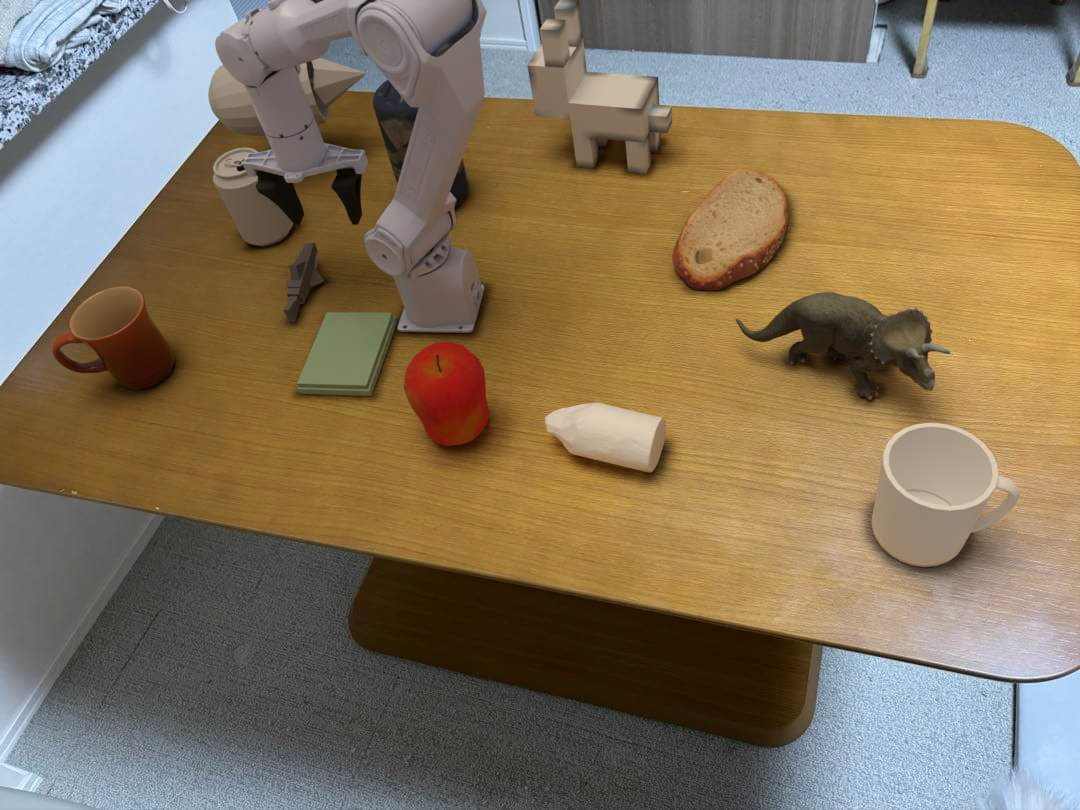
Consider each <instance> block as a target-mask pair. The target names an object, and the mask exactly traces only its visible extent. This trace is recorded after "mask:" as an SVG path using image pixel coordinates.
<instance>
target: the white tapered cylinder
mask: <svg viewBox="0 0 1080 810" xmlns="http://www.w3.org/2000/svg"><path fill="white" fill-rule="evenodd" d="M666 423H667V422H666V419H665V417H663V416H662V417H661V416H656V415H652V414H648V413H644V412H639V411H635V410H631V409H628V408H623V407H619V406H614V405H611V404H607V403H603V402H598V401H597V402H589V403H583V404H582V403H581V404H577V405H572V406H569V407H561V408H559V409H556V410H553V411H552V412H550V413H548V414H547V415H546V416H545V417H544V424H545V428H546V431H547V433H548V434H550V435H552V436H553V437H555V438H557V440H558V441H560V442H561V443H562V445H563V447H564V448H565V449H566V451H568V453H570V454H571V455H574V456H579V457H583V458H586V459H590V460H595V461H599V462H602V463H603V462H604V463H607V464H612V465H615V466H620V467H623V468H629V469H633V470H637V471H642V472H646V473H652V472H653V471H654V470H655V469H656V467H657V465H658V463H659V461H660V458H661V455H662V451H663V449H664V443H665V439H666V433H667V432H666V431H667V430H666V429H667V426H666Z"/></svg>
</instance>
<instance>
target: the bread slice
mask: <svg viewBox="0 0 1080 810" xmlns="http://www.w3.org/2000/svg"><path fill="white" fill-rule="evenodd" d="M785 194H786V193H785V192H784V191H783V188H782V187H781V185H780V183H779V182H778V181H776V179H774V178H773V177H772V176H771V175H769V174H766V173H765V172H763V171H761V170H757V169H754V168H750V167H741V168H735V169H734V171H732V172H730V173H729V174H728V175H727V176H724V177H723V178H722V180H720V182H719V183H718V184H716V185H715V187H713V189H712V190H711V191H709V193H708V194H707V196H705V197H704V198H703V200H702V201H701V202H700V203H699V204H698V206H697V207H696V208H695V209H694V211H693V212H692V213H691V214H690V216H689V217H688V219H687V220H686V222H685V224H684V225H683V228H682V229H681V231H680V233H679V236H678V238H677V239H676V242H675V245H674V247H673V251H672V258H671V260H672V264H673V266H674V268H675V270H676V273H678V275H679V276H680V278H682V279H683V280H684V281H685V283H686V284H687V285H688V286H689V287H690V288H691V289H693V290H704V291H720V290H723V289H725V288H726V287H727V286H729V285H731V284H733V283H734V282H736V281H737V282H738V281H739V280H741V279H745V278H748V277H750V276H752V275H754V274H755V273H758V271H760V270H762V269H763V268H764V267H765V266H766V265H767V264H768V263H769V262H770V260H771V259H772V258H773V257H774V256H775V254H776V253H777V251H778V250H779V248H780V247H781V246H782V244H783V243H784V238H785V235H786V232H787V228H788V223H789V211H788V209H789V208H788V201H787V198H786V195H785Z"/></svg>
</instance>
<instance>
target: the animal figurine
mask: <svg viewBox="0 0 1080 810" xmlns="http://www.w3.org/2000/svg"><path fill="white" fill-rule="evenodd" d="M319 250H320V249H318V248H317V244H316V242H305V243H304V244H303V247H302V250H301V251H299V253H298V257H297V258H295V260H294V262H293V263H291V264H289V265H288V270H289V273H290V276H289V279H288V282H287V284H286V285H287V286H286V288H287V292H286V295H287V296H288V302H287V303H286V305H285V307H284V308H283V309H282V310H283V312H284V314H285V316H286V318H287V320H288V321H289V323H296V321H297V318H298V314H299V312H300V306H301V304H305V301H306V299H307V298H308V297H309V294H310V291H311V289H313V288H315V287H317V286H319V285H321V284H323V283H325V280H324V278H323V276H322V275H321V274H320V273H319V271H318V269H317V266H318V262H319V259H318V256H319V253H320V251H319Z"/></svg>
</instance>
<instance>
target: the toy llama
mask: <svg viewBox="0 0 1080 810" xmlns="http://www.w3.org/2000/svg"><path fill="white" fill-rule="evenodd" d="M580 7H581V6H580V0H558V1H557V3H556V5H554V8H553V15H554V19H553V18H546V19H545V21H544V22H543V23H542V25H541V27H540V28H539V34H540V41H541V44H540V45H539V46H538V48H537V50H536V51H535V53H534V55H533V56H532V57H531V59H530V60H529V61H528V63H527V66H526V67H527V72H528V78H529V84H530V90H531V96H532V102H533V107H534V113H535V117H538V118H550V119H561V120H569V121H570V127H571V134H572V143H573V151H574V156H575V165H576V167H579V168H587V169H594V168H595V167H596V165H597V163H598V161H599V159H600V151H599V147H601V148H605V147H606V146H607V144H608V142H609V140H611V141H621V142H625V151H626V153H625V154H626V162H627V164H626V165H627V173H630V174H631V173H632V174H640V175H641V174H642V175H647V173H648V171H649V168H650V166H651V164H652V162H651V161H652V160H651V153H657V152H658V149H659V146H660V145H661V143H662V134H668V133H669V131H670V129H671V127H672V125H673V105H666V104H660V89H659V77H658V76H652V75H637V74H625V73H623V74H622V73H610V72H595V71H588V70H587V61H586V54H585V53H586V51H585V43H584V42H585V41H584V33H583V26H582V25H583V24H582V15H581V8H580Z"/></svg>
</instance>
